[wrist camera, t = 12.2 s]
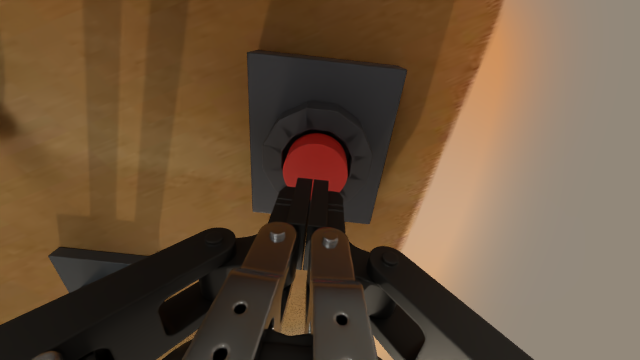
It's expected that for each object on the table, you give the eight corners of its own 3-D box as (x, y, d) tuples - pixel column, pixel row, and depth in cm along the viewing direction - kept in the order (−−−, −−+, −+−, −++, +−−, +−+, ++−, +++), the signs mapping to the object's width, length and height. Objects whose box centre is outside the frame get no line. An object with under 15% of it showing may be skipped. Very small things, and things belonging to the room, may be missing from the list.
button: (288, 129, 15) (283, 140, 13) (350, 136, 15) (352, 147, 13) (286, 183, 17) (281, 198, 15) (342, 189, 17) (342, 204, 15)
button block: (256, 49, 16) (235, 53, 13) (399, 65, 16) (417, 73, 13) (259, 196, 22) (245, 227, 18) (366, 208, 22) (373, 241, 18)
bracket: (59, 246, 26) (-154, 410, 14) (150, 256, 26) (8, 426, 14) (98, 320, 31) (-33, 476, 20) (172, 327, 31) (83, 488, 20)
